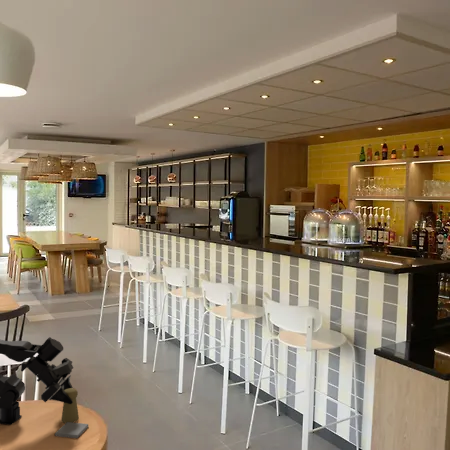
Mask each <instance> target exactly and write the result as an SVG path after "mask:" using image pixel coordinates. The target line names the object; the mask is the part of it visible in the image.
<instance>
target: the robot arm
mask: <svg viewBox="0 0 450 450" xmlns="http://www.w3.org/2000/svg"><path fill="white" fill-rule="evenodd" d="M63 351H64V346H63V344H62V343H61V342H60V341H59V340H56V339H54V338H52V337H50V336H49V337H48V338H47V339H46V340H45V341H44V343H42V344H34V343H31V342H30V341H28V340H11V341H9V340H8V341H7V340H6V339H5V340H4V339H0V354H1V355H4V356H5V357H6V358H8V359H9V360H13V362H17V363H21V364H20V365H21V366H20V367H21V368H20V371H21V372H24V371H25V370H26V369H27V370H29V371H30V372H31V373H32V374H33V375H34V376H35V377H36V378H37V379H36V381H37V382H38V383H39V382H42V384H44V385H45V390H44V391H43V392H42V393H41V395H40V396H41V397H40V399H41V400H42V402H44V403H47V402H48V401H51V400H53V401H57V402H61V403H63V404H64V403H68V404H72V403H73V401H72V400H71V398H70V397H69V396H68V395H67V393H66V392H65V391H64V390H65V389H68V388H73V386H72V383H71V378H72V375H71V373H72V372H73V369H74V365H73V361H72V360H71V359H69V358H67V357H65V358H62V360H61V363H60V364H59V365H55V364H50V363H49V362H52V361H54V360H55V359H56V358H57V356H58V355H59V354H61V353H62V352H63ZM35 355H36V356H35ZM25 390H26V386H25V382H24V381H23V379H22V378H19V377H17V376H16V375H15V374H13V373H11V374H10V376H4V375H2V374H0V425H8V426H11V425H13V424H15V423H16V422H17V421H18V420H20V419H21V418H22V417H23V416H22V415H21V407H20V402H19V401H18V400H19V399H20V397H21V396H22V395H23V394H24V393H25Z"/></svg>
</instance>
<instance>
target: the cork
mask: <svg viewBox="0 0 450 450" xmlns="http://www.w3.org/2000/svg"><path fill="white" fill-rule="evenodd" d="M64 391H65V392H66V393H67V395H68V396H69V397H70V398H71V400H72V401H73V403H72V404H68V403H64V402H63V406H62V414H61V423H63V424H65V423H67V422H73V423H77V422H78V421H79V419H80V416H79V409H78V408H79V407H78V402H77V397H78V390H77V389H76V388H68V389H65V390H64Z"/></svg>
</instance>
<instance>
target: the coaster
mask: <svg viewBox="0 0 450 450" xmlns="http://www.w3.org/2000/svg"><path fill="white" fill-rule="evenodd" d="M88 428H89V423H82V422H67V423H63V425H62V426H61V427H60V428H59V429H58V430H57V431H56V432H55V433H54V436H55V437H61V438H72V439H79V437H80V436H82V434H83V433H84V432H85V431H86V430H87V429H88Z"/></svg>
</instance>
